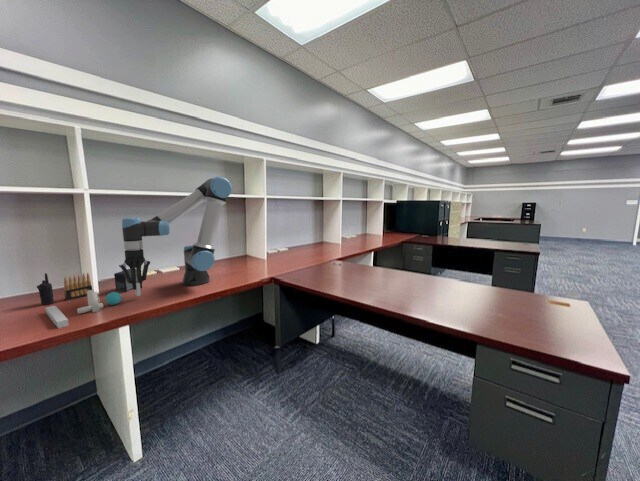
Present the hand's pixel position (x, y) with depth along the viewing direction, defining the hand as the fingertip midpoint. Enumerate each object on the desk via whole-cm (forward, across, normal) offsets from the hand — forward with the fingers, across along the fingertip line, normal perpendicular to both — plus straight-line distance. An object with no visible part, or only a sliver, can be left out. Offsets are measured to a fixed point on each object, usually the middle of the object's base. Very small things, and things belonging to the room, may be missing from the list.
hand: (138, 295), depth 132 cm
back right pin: (+2, +18, -2) cm, 18 cm away
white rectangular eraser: (+2, +30, 0) cm, 30 cm away
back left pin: (+2, +18, +2) cm, 18 cm away
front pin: (+1, +14, 0) cm, 14 cm away
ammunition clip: (+2, +17, -27) cm, 32 cm away
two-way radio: (+2, +29, -27) cm, 40 cm away
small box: (+2, -3, -23) cm, 23 cm away
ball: (-1, +10, -1) cm, 10 cm away
